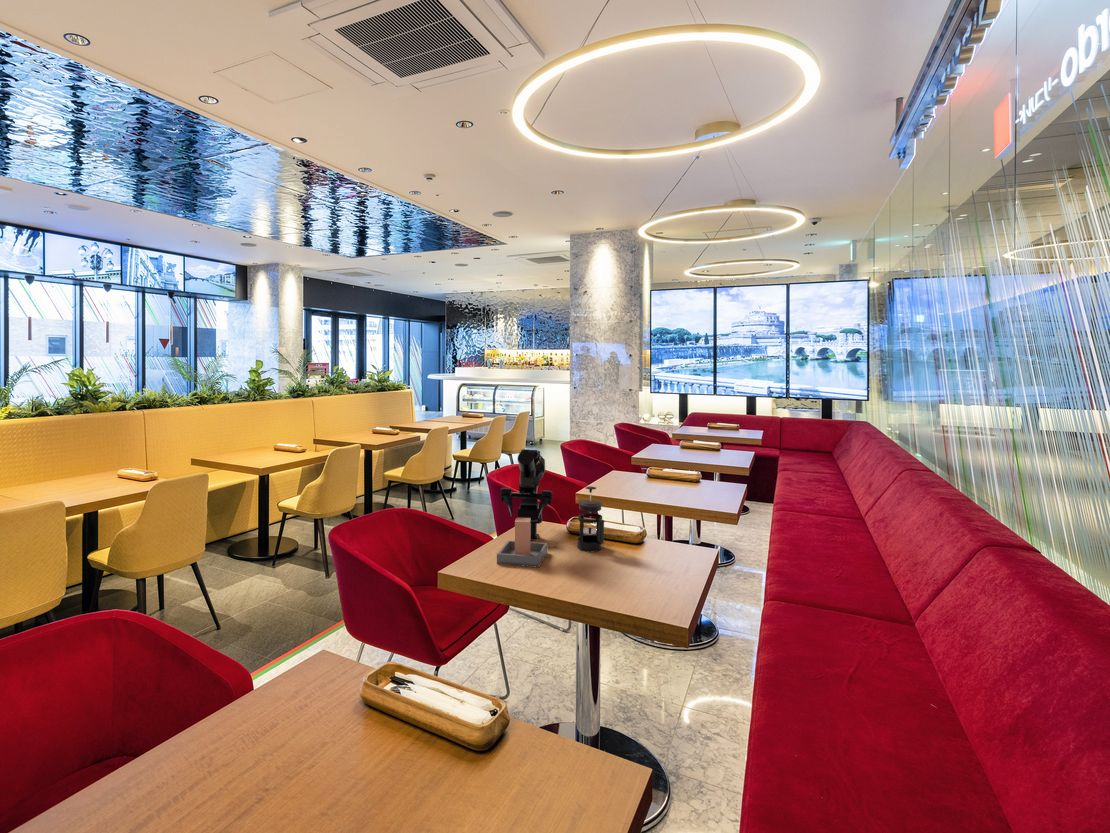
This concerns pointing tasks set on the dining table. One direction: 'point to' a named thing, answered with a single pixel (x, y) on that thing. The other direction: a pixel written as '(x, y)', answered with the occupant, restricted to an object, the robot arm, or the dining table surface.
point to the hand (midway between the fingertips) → (524, 517)
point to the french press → (587, 535)
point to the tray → (534, 559)
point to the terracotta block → (523, 536)
